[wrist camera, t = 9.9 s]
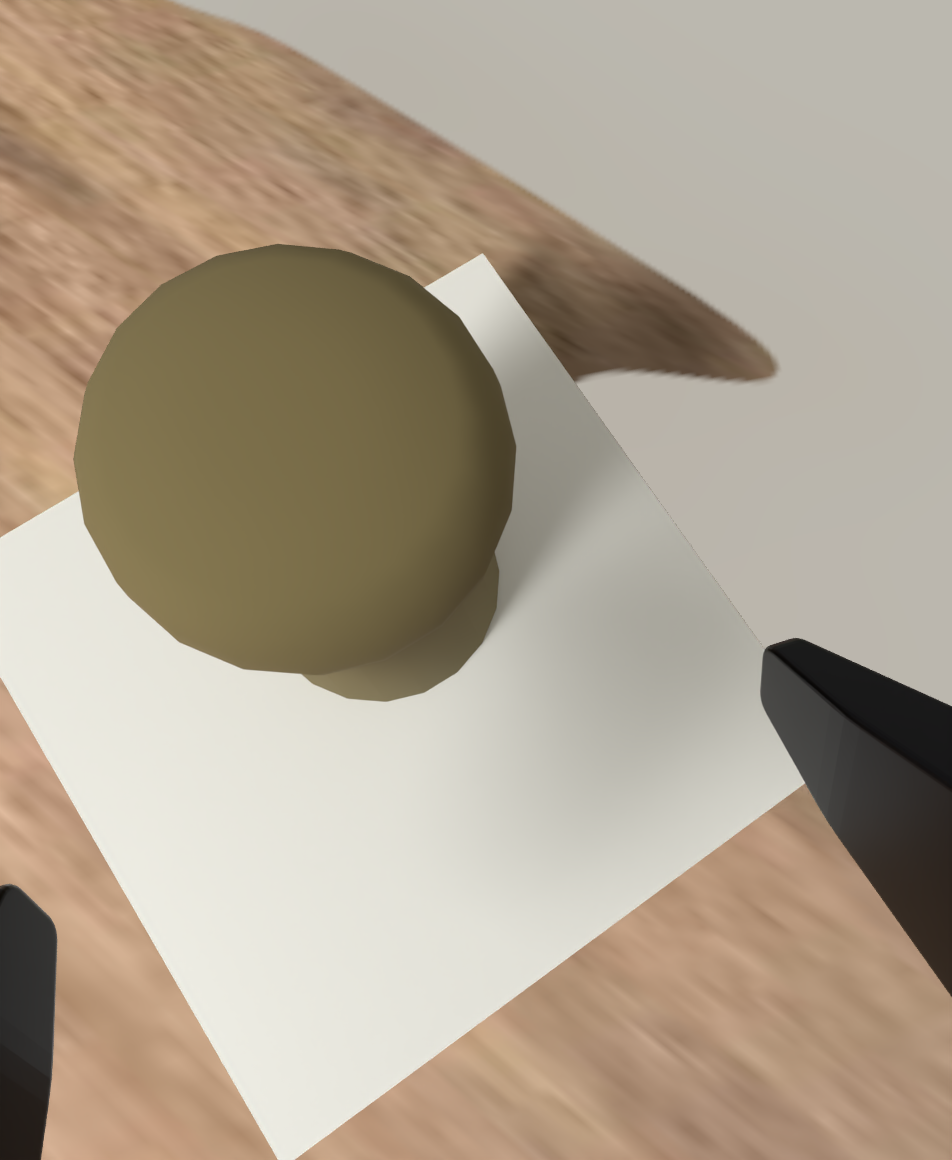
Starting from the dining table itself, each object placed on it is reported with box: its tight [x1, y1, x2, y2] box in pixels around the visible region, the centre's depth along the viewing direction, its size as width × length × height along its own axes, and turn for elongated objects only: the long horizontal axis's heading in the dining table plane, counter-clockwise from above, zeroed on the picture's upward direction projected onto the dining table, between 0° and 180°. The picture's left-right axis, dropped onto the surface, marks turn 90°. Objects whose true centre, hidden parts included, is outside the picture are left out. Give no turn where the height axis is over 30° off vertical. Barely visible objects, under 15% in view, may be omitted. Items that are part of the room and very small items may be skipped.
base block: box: [0, 253, 805, 1160], centre depth 19 cm, size 16×16×3 cm
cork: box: [73, 244, 516, 702], centre depth 13 cm, size 6×6×11 cm
